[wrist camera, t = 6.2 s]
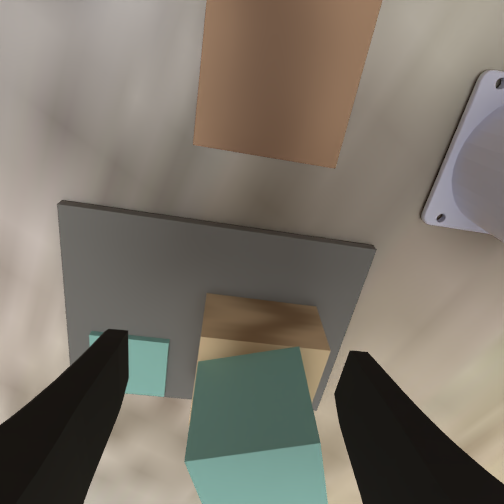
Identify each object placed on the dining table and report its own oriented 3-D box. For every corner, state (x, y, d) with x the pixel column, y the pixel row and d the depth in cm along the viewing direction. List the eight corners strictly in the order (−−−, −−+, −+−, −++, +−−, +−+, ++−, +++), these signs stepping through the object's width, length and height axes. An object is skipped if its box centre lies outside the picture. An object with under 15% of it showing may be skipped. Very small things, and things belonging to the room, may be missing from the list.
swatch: (169, 339, 24) (168, 343, 23) (165, 392, 26) (164, 396, 25) (91, 330, 23) (89, 334, 23) (93, 385, 25) (91, 390, 25)
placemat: (373, 245, 22) (376, 249, 21) (315, 404, 28) (316, 410, 27) (62, 200, 20) (57, 204, 19) (75, 382, 26) (72, 388, 25)
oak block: (316, 306, 23) (330, 350, 19) (292, 384, 26) (300, 434, 22) (206, 293, 22) (200, 336, 18) (195, 375, 25) (188, 425, 22)
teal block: (299, 346, 19) (320, 443, 14) (308, 414, 22) (329, 516, 17) (198, 361, 19) (184, 461, 14) (219, 427, 22) (213, 531, 17)
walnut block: (338, 19, 16) (382, -1, 11) (309, 141, 19) (334, 168, 14) (218, -7, 16) (210, -40, 11) (205, 123, 18) (192, 144, 13)
